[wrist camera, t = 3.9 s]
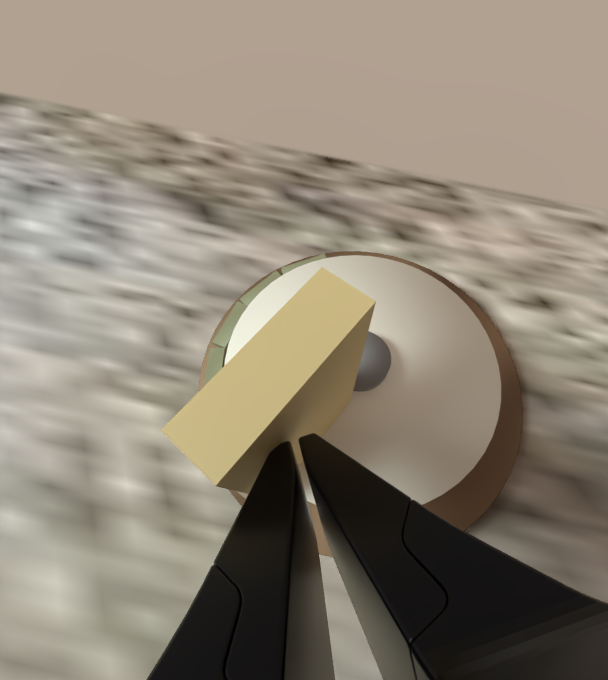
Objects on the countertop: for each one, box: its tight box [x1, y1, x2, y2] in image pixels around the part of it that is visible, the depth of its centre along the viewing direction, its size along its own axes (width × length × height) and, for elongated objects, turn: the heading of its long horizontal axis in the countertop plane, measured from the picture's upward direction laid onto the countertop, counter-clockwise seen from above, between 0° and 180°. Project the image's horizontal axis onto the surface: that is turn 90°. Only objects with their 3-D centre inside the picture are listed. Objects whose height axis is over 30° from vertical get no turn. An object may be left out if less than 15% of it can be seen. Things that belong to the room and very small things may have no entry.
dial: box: [161, 255, 501, 505], centre depth 11 cm, size 11×12×8 cm
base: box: [199, 251, 523, 557], centre depth 16 cm, size 14×14×1 cm
